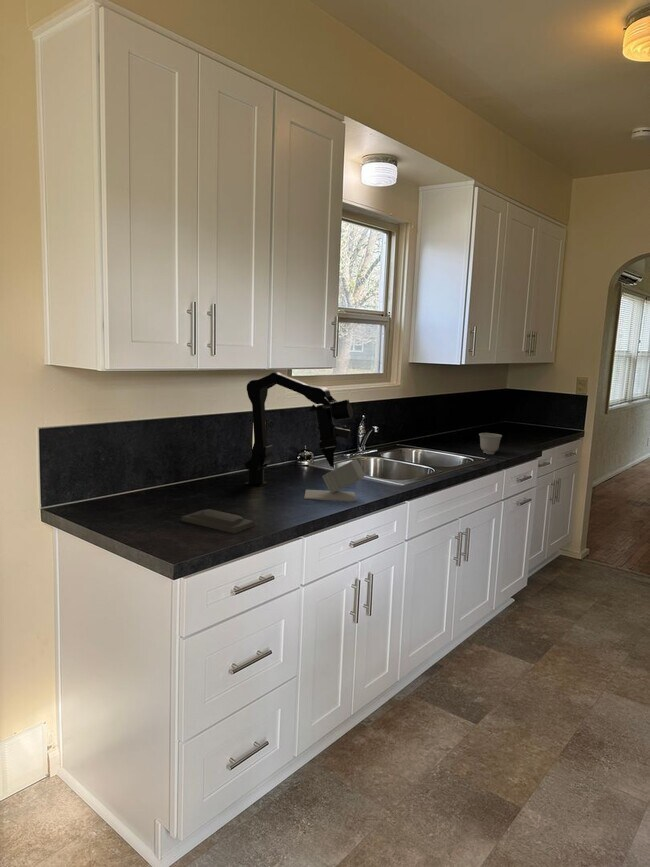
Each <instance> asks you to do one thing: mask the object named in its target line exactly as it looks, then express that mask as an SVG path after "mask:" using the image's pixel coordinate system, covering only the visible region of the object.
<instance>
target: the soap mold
mask: <svg viewBox="0 0 650 867" xmlns="http://www.w3.org/2000/svg"><path fill="white" fill-rule="evenodd" d="M181 522H185V523H188V524H194V525H199V526H201V527H202V526H203V527H206V528H211V529H214V530H219V531H223V532H227V533H232V534H237V533H240V532H242V531H245V530H247V528H248V529H250V528H253V527H256V524H255V521H254V520H253V519H252V520H251V519H248V518H243V517H242V516H240V515H238V514H233V513H229V512H223V511H220V510H216V509H210V508H207V509H202V510H199V511H195V512H192V513H189V514H186V515H182V516H181Z"/></svg>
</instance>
